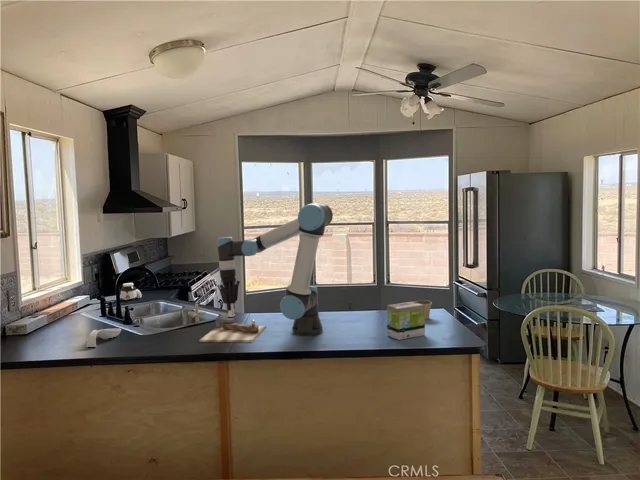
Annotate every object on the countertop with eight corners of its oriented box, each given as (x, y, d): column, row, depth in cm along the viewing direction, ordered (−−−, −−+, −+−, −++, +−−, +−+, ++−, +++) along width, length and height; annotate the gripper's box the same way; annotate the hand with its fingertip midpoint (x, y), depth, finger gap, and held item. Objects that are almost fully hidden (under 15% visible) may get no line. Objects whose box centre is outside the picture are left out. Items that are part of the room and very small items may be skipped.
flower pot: (434, 317, 253) (434, 301, 253) (428, 321, 245) (428, 304, 245) (418, 315, 258) (417, 299, 258) (411, 319, 251) (411, 303, 250)
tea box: (399, 340, 214) (398, 308, 213) (386, 335, 223) (385, 304, 222) (425, 335, 221) (425, 304, 220) (412, 330, 230) (411, 300, 229)
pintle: (255, 325, 234) (255, 320, 234) (254, 326, 233) (254, 321, 232) (252, 325, 235) (251, 320, 234) (251, 326, 233) (250, 321, 233)
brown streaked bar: (260, 331, 235) (260, 325, 234) (254, 333, 231) (254, 328, 230) (227, 326, 247) (226, 321, 246) (220, 328, 242) (220, 323, 242)
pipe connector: (201, 325, 257) (200, 306, 256) (184, 324, 259) (183, 306, 258) (209, 320, 266) (208, 302, 265) (193, 320, 268) (192, 302, 267)
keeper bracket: (235, 328, 243) (234, 318, 243) (231, 329, 241) (230, 320, 240) (220, 325, 249) (219, 316, 249) (216, 327, 247) (215, 317, 246)
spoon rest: (103, 334, 246) (102, 321, 245) (125, 334, 245) (124, 320, 245) (79, 349, 222) (77, 334, 221) (104, 348, 222) (102, 333, 221)
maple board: (266, 327, 246) (266, 325, 246) (252, 342, 221) (252, 339, 221) (218, 327, 250) (218, 325, 250) (199, 341, 225) (199, 339, 225)
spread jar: (119, 301, 332) (118, 284, 331) (128, 297, 343) (127, 281, 342) (135, 301, 330) (134, 284, 329) (144, 297, 341) (142, 281, 340)
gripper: (231, 266, 239) (235, 312, 240) (212, 270, 228) (216, 318, 230) (242, 266, 234) (246, 313, 236) (222, 271, 224) (227, 320, 225)
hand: (231, 316), depth 233 cm, fingers closed
